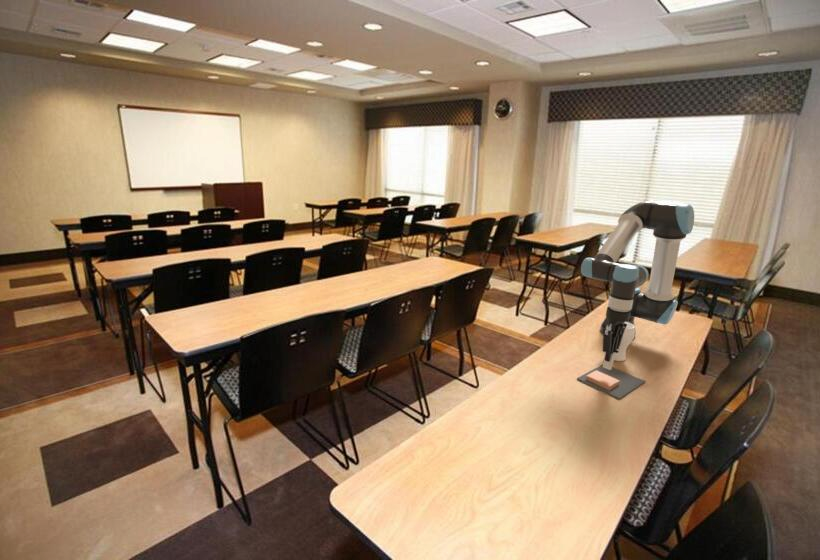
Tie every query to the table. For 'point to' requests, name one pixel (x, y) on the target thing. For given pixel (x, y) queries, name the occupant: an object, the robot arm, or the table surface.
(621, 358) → the cup
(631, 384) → the mat
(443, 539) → the table surface
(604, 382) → the slab
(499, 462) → the table surface
